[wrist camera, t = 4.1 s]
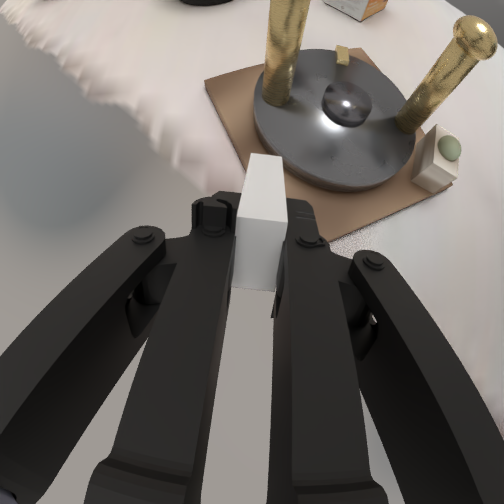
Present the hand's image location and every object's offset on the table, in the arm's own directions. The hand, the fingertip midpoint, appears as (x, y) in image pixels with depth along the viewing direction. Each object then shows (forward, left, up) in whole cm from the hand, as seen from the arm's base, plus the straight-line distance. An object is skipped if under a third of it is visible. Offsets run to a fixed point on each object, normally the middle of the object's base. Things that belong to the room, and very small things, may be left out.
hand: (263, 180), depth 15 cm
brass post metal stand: (+5, -9, -5) cm, 12 cm away
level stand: (+5, -9, -7) cm, 12 cm away
